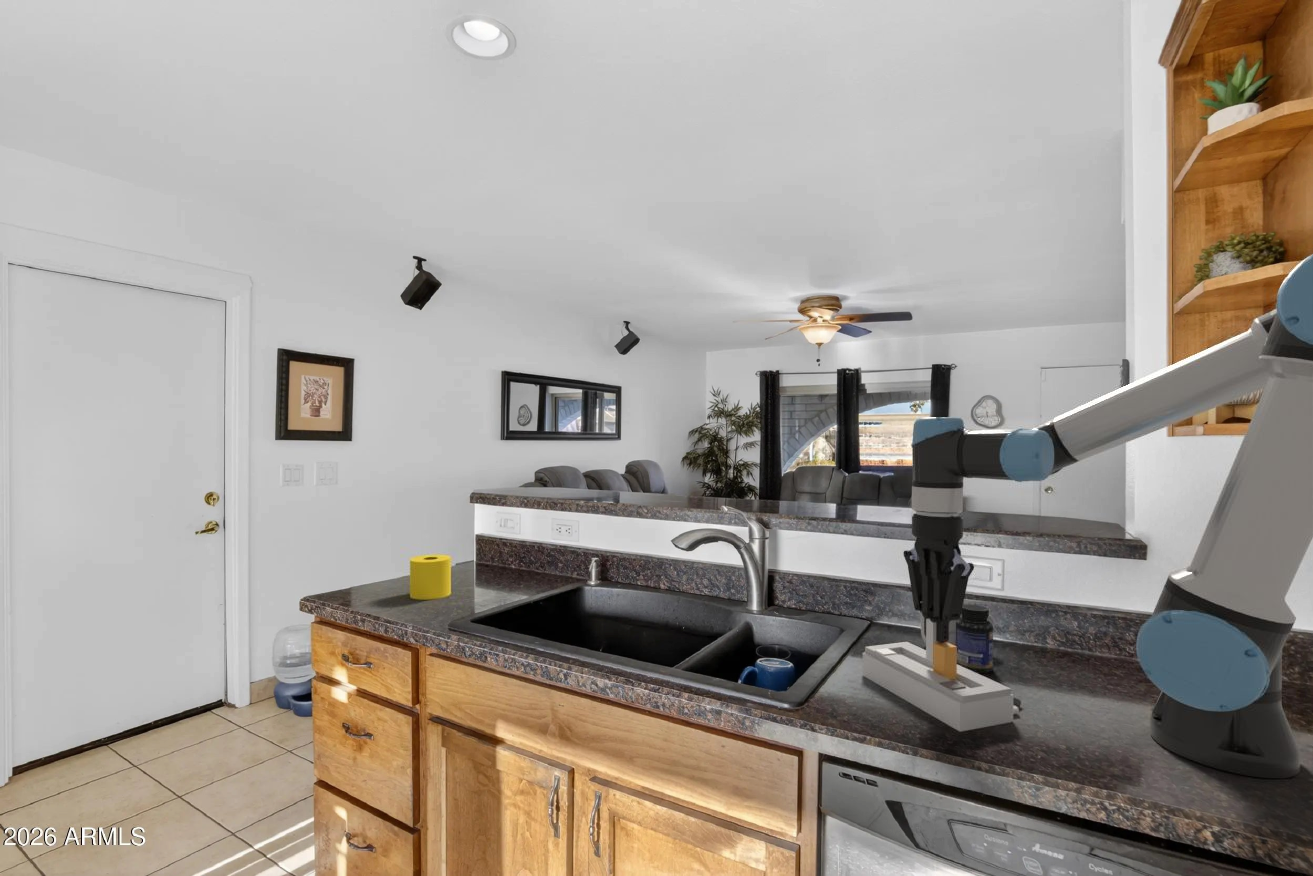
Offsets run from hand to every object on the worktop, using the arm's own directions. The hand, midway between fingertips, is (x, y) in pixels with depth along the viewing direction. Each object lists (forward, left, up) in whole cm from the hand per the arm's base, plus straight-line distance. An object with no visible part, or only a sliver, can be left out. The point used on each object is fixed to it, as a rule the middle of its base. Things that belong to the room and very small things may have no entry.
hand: (936, 659), depth 101 cm
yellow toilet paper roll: (+93, +78, -7) cm, 121 cm away
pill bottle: (+9, -17, -7) cm, 20 cm away
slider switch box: (+1, 0, -6) cm, 6 cm away
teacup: (+17, -21, -7) cm, 28 cm away
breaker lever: (-2, 0, -2) cm, 3 cm away
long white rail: (+1, -6, -6) cm, 9 cm away
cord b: (+2, -9, -6) cm, 11 cm away
